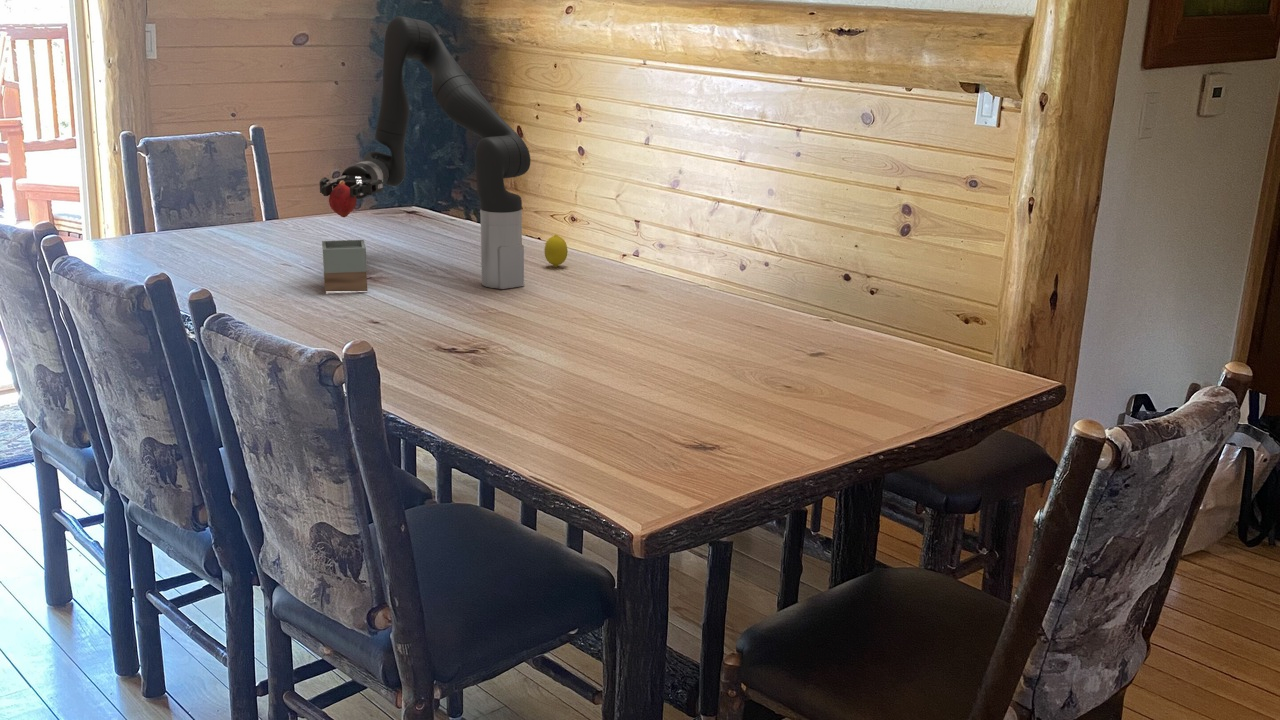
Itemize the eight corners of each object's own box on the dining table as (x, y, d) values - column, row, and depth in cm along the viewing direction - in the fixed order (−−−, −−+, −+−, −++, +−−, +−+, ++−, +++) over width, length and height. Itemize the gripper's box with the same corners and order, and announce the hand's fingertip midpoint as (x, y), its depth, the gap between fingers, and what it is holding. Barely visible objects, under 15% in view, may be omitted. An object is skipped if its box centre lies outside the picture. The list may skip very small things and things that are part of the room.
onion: (350, 220, 251) (347, 183, 248) (325, 219, 252) (322, 182, 249) (361, 215, 256) (359, 179, 254) (337, 214, 257) (335, 178, 255)
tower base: (367, 293, 254) (366, 271, 253) (325, 295, 252) (323, 273, 251) (366, 284, 263) (365, 262, 261) (325, 285, 261) (324, 263, 259)
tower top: (366, 271, 253) (365, 248, 251) (324, 273, 251) (322, 249, 249) (364, 262, 261) (363, 239, 260) (323, 264, 259) (322, 241, 257)
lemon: (569, 265, 284) (569, 233, 282) (565, 270, 279) (565, 237, 277) (546, 264, 285) (546, 232, 283) (542, 269, 280) (542, 236, 277)
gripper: (330, 161, 265) (304, 173, 249) (392, 164, 264) (370, 175, 248) (332, 194, 267) (306, 208, 251) (394, 196, 266) (371, 210, 250)
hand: (338, 191), depth 250 cm, fingers closed on onion, 5 cm apart
